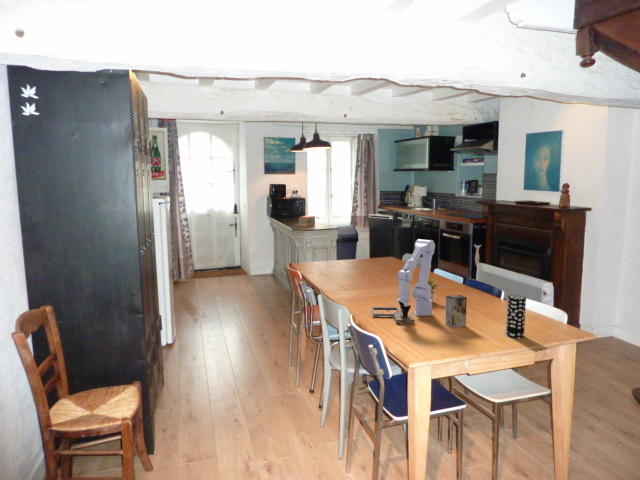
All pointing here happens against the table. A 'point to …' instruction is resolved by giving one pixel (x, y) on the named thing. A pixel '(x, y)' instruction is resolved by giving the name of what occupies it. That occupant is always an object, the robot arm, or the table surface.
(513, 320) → the white-spotted black cylinder
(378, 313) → the tray
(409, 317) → the pin block
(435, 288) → the house plant
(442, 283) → the table surface
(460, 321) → the coffee box
